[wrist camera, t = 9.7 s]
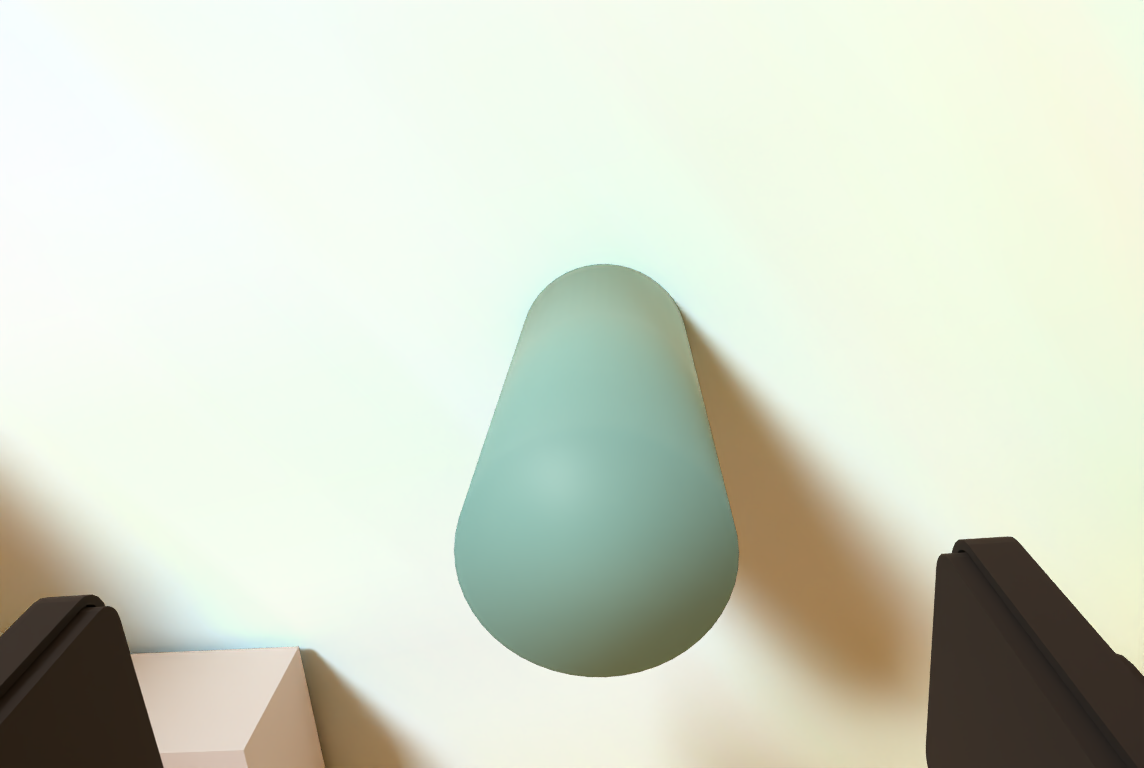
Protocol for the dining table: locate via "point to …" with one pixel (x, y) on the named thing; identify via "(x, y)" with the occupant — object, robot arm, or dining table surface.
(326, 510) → the dining table surface
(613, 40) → the dining table surface
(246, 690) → the socket block
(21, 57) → the dining table surface
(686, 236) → the dining table surface
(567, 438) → the dowel
